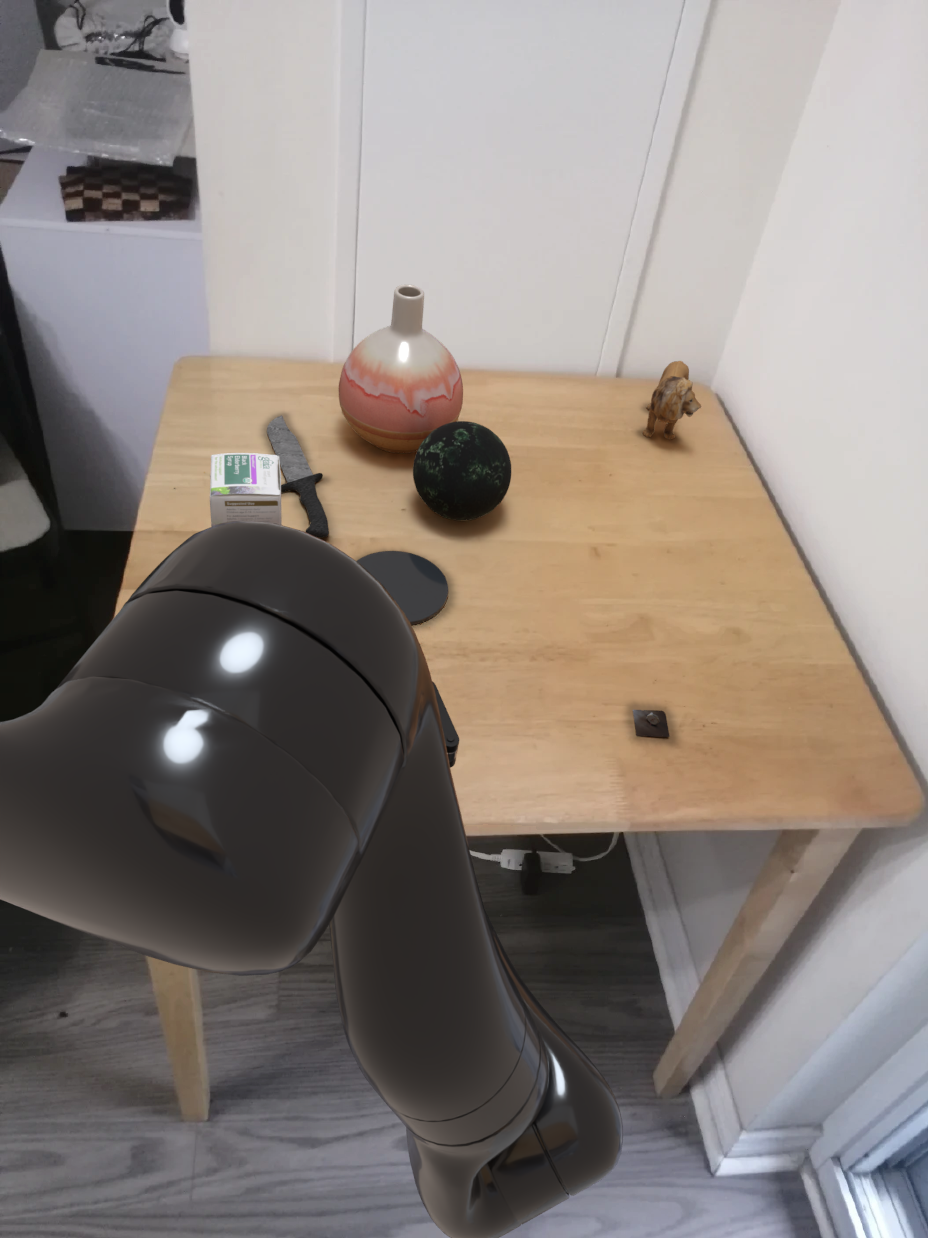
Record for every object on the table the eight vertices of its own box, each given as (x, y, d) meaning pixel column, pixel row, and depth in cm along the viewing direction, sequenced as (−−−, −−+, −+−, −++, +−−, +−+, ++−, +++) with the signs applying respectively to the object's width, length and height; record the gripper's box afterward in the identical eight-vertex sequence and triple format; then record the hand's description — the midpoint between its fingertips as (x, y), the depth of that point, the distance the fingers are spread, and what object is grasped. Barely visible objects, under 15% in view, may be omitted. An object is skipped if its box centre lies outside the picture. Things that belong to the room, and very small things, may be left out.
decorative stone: (411, 539, 95) (419, 457, 88) (407, 479, 102) (414, 399, 95) (508, 542, 96) (524, 462, 89) (498, 483, 103) (512, 404, 96)
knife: (250, 414, 106) (294, 409, 107) (251, 423, 106) (294, 417, 108) (298, 535, 91) (348, 527, 93) (299, 544, 92) (348, 536, 93)
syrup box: (217, 581, 87) (206, 451, 77) (282, 578, 88) (279, 450, 78) (217, 624, 83) (205, 494, 73) (285, 621, 84) (282, 493, 74)
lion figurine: (685, 459, 111) (708, 393, 104) (641, 451, 111) (661, 385, 105) (680, 395, 121) (701, 331, 115) (639, 388, 121) (658, 323, 115)
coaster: (326, 608, 86) (326, 604, 86) (364, 543, 93) (364, 539, 93) (429, 638, 85) (430, 634, 85) (460, 570, 92) (460, 566, 92)
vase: (383, 487, 100) (394, 336, 88) (313, 423, 107) (314, 275, 95) (481, 450, 107) (503, 305, 95) (409, 393, 114) (422, 251, 102)
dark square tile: (636, 736, 80) (638, 727, 79) (632, 709, 82) (634, 700, 81) (669, 737, 80) (672, 728, 79) (665, 711, 82) (667, 701, 81)
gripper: (510, 789, 57) (411, 608, 66) (278, 861, 51) (209, 653, 61) (492, 855, 62) (403, 678, 72) (281, 926, 57) (216, 725, 67)
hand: (314, 667), depth 67 cm, fingers open, 8 cm apart
